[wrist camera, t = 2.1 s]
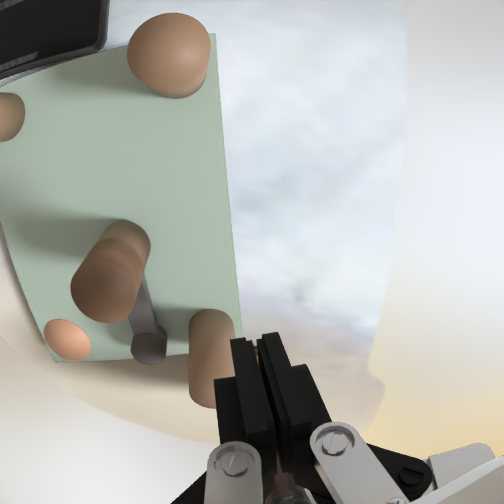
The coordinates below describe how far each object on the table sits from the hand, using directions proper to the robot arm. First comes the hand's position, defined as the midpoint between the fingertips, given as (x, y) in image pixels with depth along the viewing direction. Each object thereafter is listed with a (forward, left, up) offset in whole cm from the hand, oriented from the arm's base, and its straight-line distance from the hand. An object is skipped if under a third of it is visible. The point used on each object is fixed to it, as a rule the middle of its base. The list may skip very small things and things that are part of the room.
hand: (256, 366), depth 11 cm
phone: (-19, -14, -16) cm, 29 cm away
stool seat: (-2, -8, -15) cm, 17 cm away
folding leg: (+3, -7, -12) cm, 15 cm away
